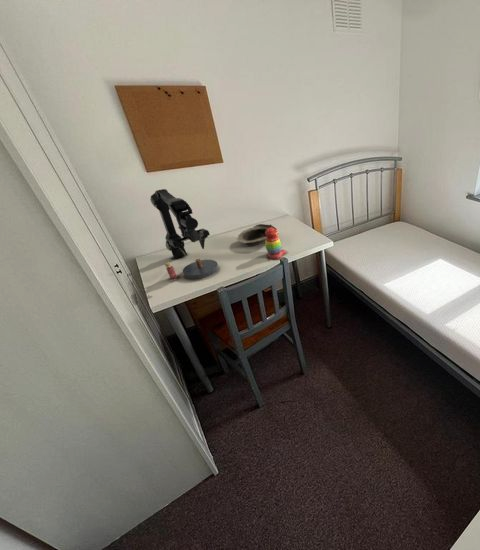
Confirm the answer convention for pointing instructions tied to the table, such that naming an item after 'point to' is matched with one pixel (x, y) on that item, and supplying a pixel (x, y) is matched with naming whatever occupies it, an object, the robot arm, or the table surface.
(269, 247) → the stacking bear
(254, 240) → the stone bowl
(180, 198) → the robot arm
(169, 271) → the doll
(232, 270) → the table surface
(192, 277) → the pan
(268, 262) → the table surface
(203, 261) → the lid
